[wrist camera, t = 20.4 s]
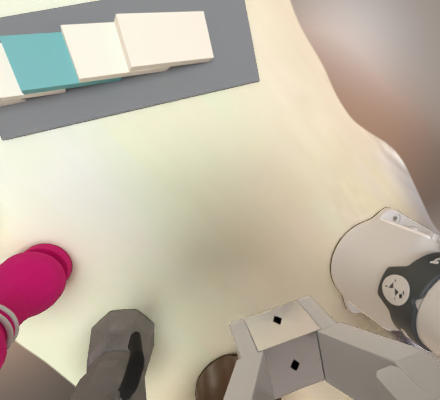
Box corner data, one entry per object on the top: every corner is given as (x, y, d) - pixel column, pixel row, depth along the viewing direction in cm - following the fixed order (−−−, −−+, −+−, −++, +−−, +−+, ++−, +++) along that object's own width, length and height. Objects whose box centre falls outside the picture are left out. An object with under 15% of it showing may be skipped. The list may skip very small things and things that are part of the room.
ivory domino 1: (47, 40, 28) (-77, 47, 24) (65, 89, 30) (-50, 104, 25) (48, 45, 30) (-69, 54, 26) (65, 92, 31) (-43, 108, 27)
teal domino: (106, 29, 29) (-2, 36, 25) (121, 77, 31) (21, 90, 27) (105, 35, 31) (2, 42, 27) (119, 80, 32) (23, 94, 28)
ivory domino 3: (203, 11, 31) (115, 13, 27) (213, 57, 32) (131, 66, 28) (198, 17, 32) (113, 21, 28) (208, 61, 34) (129, 71, 29)
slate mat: (238, -22, 33) (239, -24, 32) (258, 81, 36) (259, 80, 35) (-46, 27, 28) (-49, 25, 28) (4, 140, 31) (2, 140, 31)
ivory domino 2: (157, 19, 30) (60, 25, 26) (170, 66, 31) (79, 78, 27) (154, 26, 32) (61, 32, 28) (166, 70, 33) (79, 82, 29)
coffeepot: (136, 379, 41) (116, 549, 24) (74, 365, 39) (1, 543, 22) (178, 293, 40) (188, 409, 22) (116, 273, 37) (73, 386, 20)
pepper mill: (5, 248, 34) (-205, 388, 15) (65, 233, 35) (-59, 343, 16) (28, 297, 36) (-132, 479, 16) (84, 281, 37) (-6, 433, 17)
